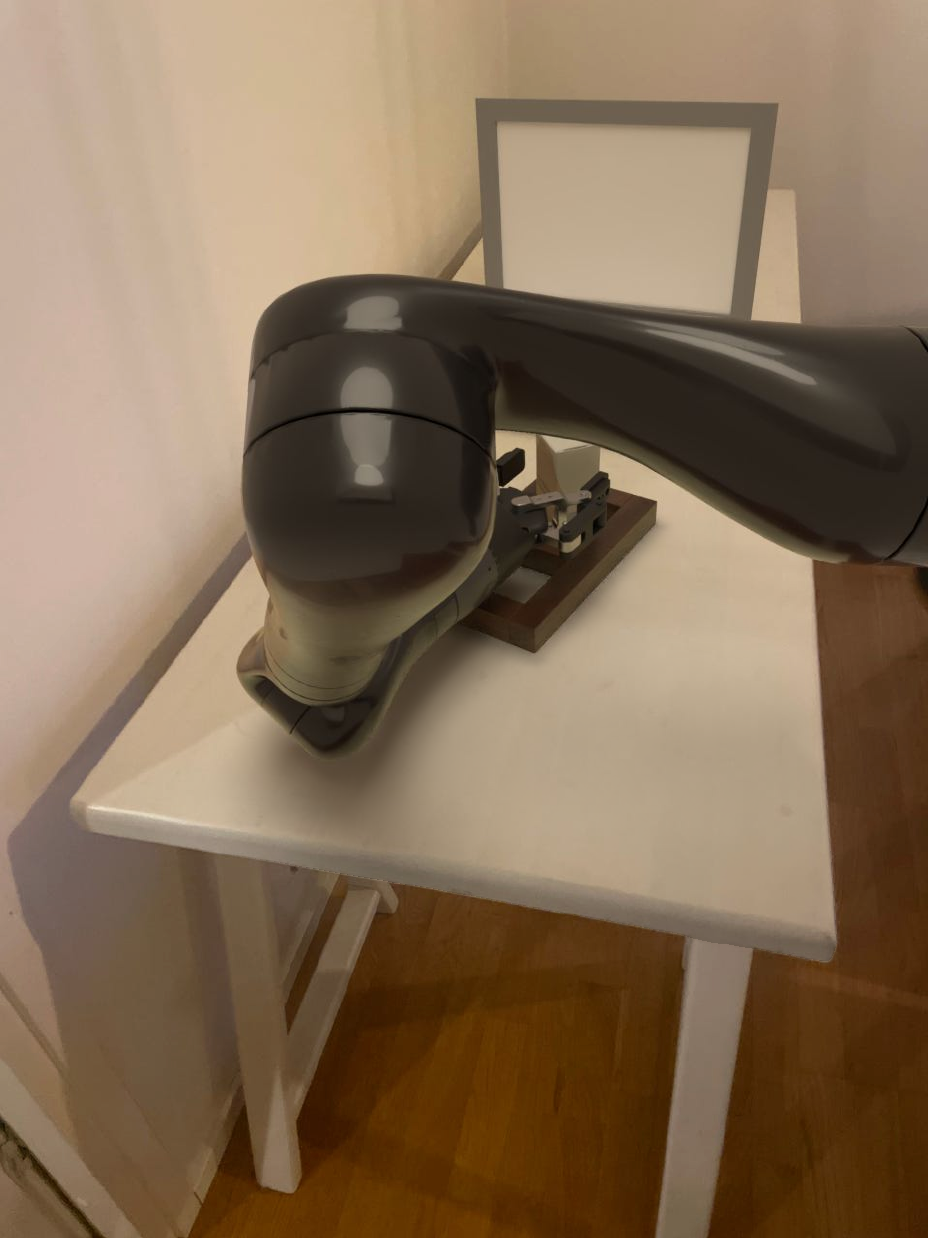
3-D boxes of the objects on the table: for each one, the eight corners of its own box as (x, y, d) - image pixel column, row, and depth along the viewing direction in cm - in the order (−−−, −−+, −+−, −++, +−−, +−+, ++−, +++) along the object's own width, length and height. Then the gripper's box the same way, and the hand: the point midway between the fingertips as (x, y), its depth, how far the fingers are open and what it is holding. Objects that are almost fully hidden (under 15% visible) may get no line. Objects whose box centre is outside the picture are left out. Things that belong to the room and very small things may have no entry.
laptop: (401, 412, 111) (370, 152, 93) (491, 327, 129) (479, 96, 112) (693, 458, 99) (721, 167, 81) (747, 356, 117) (780, 100, 99)
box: (535, 528, 90) (533, 424, 83) (577, 518, 91) (578, 414, 84) (556, 557, 86) (555, 451, 79) (599, 547, 87) (602, 440, 80)
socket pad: (656, 523, 90) (657, 500, 88) (535, 653, 76) (534, 629, 75) (546, 490, 96) (546, 469, 94) (416, 606, 82) (413, 583, 81)
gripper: (531, 548, 68) (636, 449, 77) (379, 496, 74) (493, 412, 84) (534, 628, 72) (632, 525, 82) (390, 572, 79) (497, 484, 89)
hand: (562, 468), depth 83 cm, fingers open, 8 cm apart
